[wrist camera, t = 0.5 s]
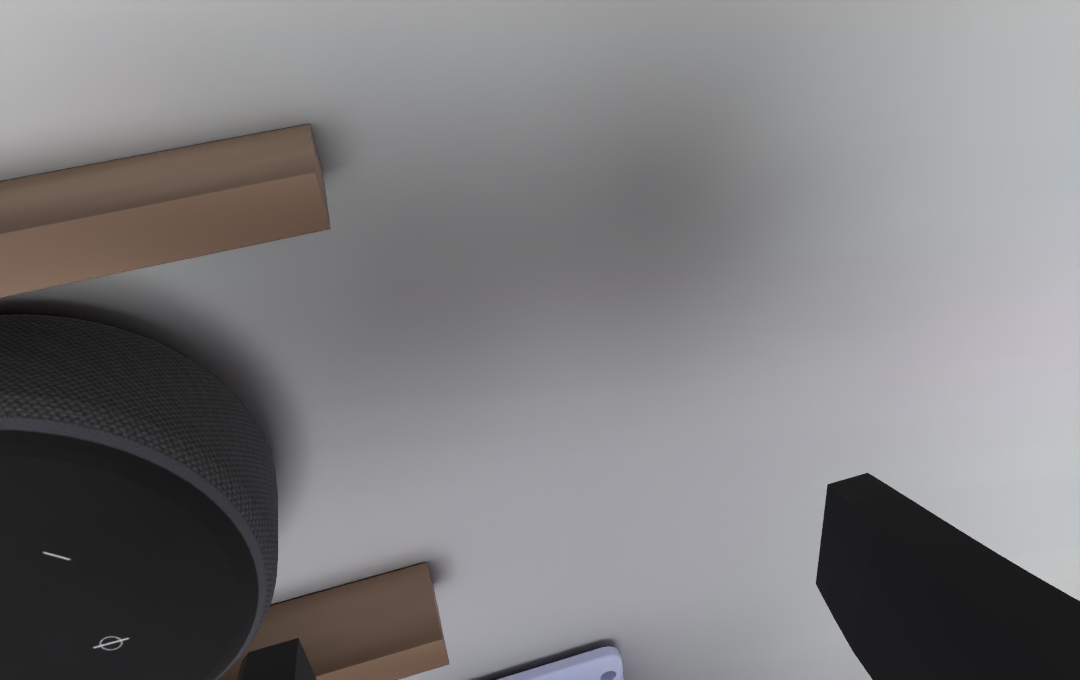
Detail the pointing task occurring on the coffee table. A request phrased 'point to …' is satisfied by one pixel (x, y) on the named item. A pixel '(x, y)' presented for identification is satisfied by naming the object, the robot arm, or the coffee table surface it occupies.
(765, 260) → the coffee table surface
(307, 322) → the coffee table surface
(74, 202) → the chute
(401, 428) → the coffee table surface
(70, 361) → the smart speaker
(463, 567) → the coffee table surface
